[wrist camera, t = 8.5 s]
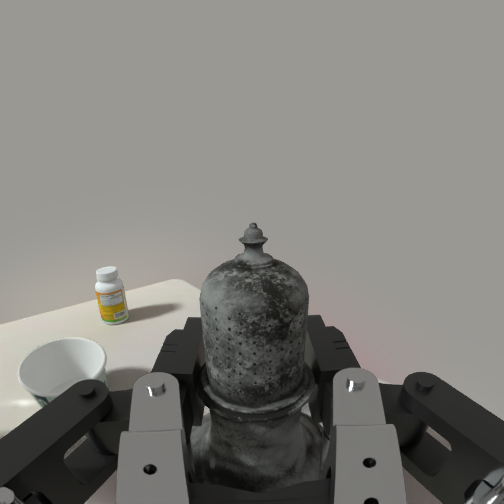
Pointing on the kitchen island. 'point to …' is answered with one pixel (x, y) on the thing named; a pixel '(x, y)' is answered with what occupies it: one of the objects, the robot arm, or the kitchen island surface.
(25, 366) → the food container
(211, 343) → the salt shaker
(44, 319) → the kitchen island surface
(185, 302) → the kitchen island surface
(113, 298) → the supplement bottle
